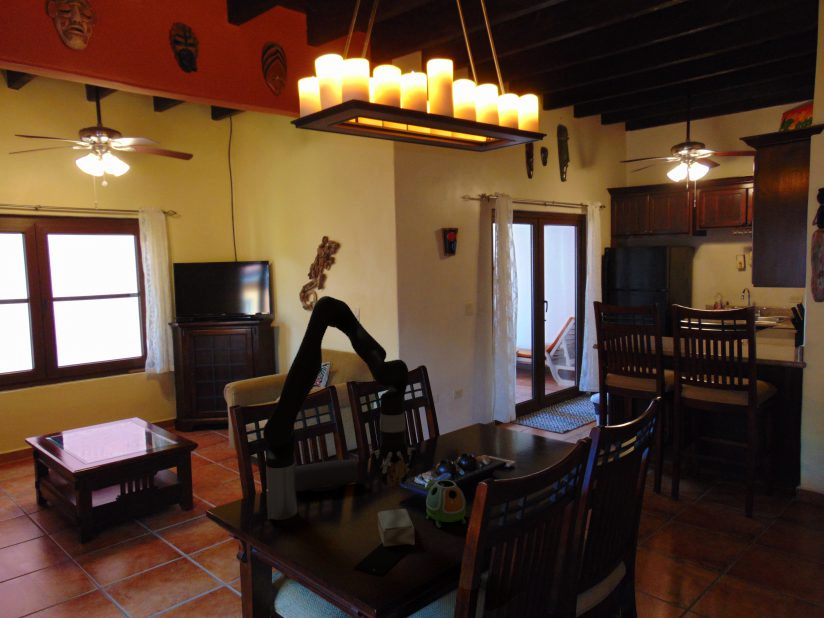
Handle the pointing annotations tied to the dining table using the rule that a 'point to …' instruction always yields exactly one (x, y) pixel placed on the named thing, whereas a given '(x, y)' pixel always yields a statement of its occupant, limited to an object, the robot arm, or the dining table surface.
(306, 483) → the bluetooth speaker
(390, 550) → the cell phone
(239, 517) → the dining table surface
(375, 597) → the dining table surface
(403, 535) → the plinth
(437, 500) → the turtle holder
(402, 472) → the lion figurine
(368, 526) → the dining table surface
